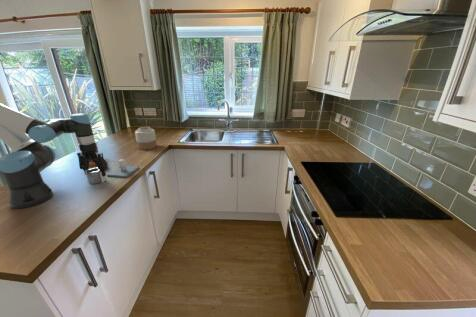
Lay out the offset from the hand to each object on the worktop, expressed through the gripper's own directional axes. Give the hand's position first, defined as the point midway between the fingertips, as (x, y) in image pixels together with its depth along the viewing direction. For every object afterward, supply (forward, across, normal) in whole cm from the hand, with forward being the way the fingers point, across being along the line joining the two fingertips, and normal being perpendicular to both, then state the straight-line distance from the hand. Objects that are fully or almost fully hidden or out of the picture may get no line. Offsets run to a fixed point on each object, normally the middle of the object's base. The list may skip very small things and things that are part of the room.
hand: (97, 180), depth 119 cm
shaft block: (0, -8, -13) cm, 15 cm away
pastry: (+1, +13, -15) cm, 19 cm away
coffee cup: (0, +29, -31) cm, 43 cm away
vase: (0, +4, -62) cm, 62 cm away
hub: (0, 0, 0) cm, 0 cm away
